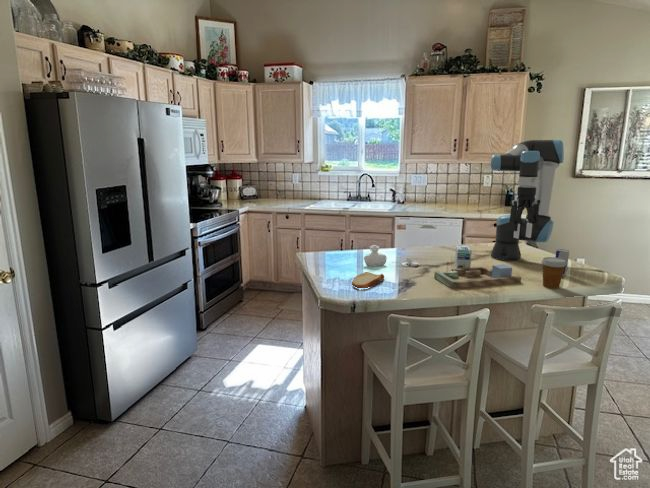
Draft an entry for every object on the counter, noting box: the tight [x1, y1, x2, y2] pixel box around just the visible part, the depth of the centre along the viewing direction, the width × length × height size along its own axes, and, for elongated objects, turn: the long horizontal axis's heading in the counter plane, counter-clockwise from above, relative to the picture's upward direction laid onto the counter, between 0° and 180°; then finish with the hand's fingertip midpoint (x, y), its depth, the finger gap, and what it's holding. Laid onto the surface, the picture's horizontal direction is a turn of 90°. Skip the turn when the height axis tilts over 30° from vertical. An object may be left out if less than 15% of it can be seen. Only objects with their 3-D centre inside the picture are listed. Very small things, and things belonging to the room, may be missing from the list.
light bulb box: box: [454, 244, 473, 269], centre depth 216 cm, size 11×7×11 cm, turn 168°
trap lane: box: [433, 266, 522, 289], centre depth 199 cm, size 34×19×3 cm, turn 104°
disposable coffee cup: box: [541, 256, 566, 290], centre depth 188 cm, size 10×10×12 cm
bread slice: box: [351, 271, 385, 288], centre depth 195 cm, size 18×18×4 cm
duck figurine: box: [363, 244, 388, 267], centre depth 223 cm, size 12×8×11 cm
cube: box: [491, 263, 513, 278], centre depth 199 cm, size 6×6×6 cm
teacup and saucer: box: [401, 256, 419, 267], centre depth 224 cm, size 9×8×4 cm
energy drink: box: [555, 248, 570, 278], centre depth 204 cm, size 5×5×12 cm
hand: (522, 237), depth 198 cm, fingers open, 6 cm apart
